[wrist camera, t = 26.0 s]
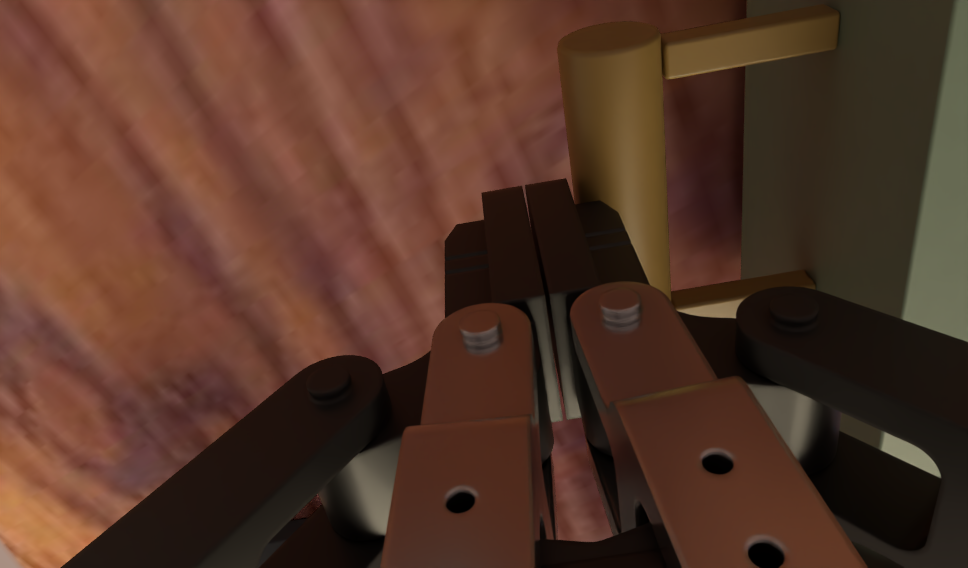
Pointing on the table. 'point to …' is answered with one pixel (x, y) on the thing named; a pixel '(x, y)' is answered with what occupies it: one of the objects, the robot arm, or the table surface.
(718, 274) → the table surface
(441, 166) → the table surface
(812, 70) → the drawer
